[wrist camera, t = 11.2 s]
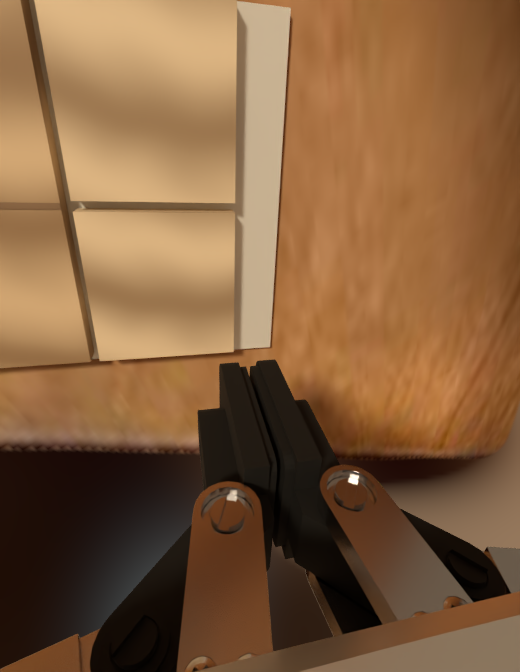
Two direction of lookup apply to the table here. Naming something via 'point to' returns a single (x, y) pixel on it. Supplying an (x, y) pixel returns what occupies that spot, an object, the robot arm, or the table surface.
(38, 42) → the underlay mat
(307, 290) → the table surface
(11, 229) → the row
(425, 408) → the table surface
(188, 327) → the plank far
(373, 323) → the table surface
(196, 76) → the plank near
